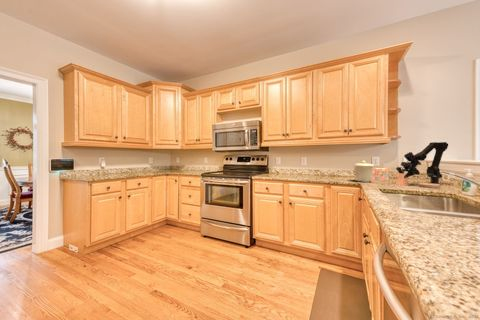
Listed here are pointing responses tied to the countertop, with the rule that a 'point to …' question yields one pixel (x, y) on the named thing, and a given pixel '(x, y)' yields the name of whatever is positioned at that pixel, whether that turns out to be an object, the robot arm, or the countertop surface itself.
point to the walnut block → (429, 185)
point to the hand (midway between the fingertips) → (401, 177)
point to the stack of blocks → (380, 174)
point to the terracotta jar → (402, 179)
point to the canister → (363, 172)
